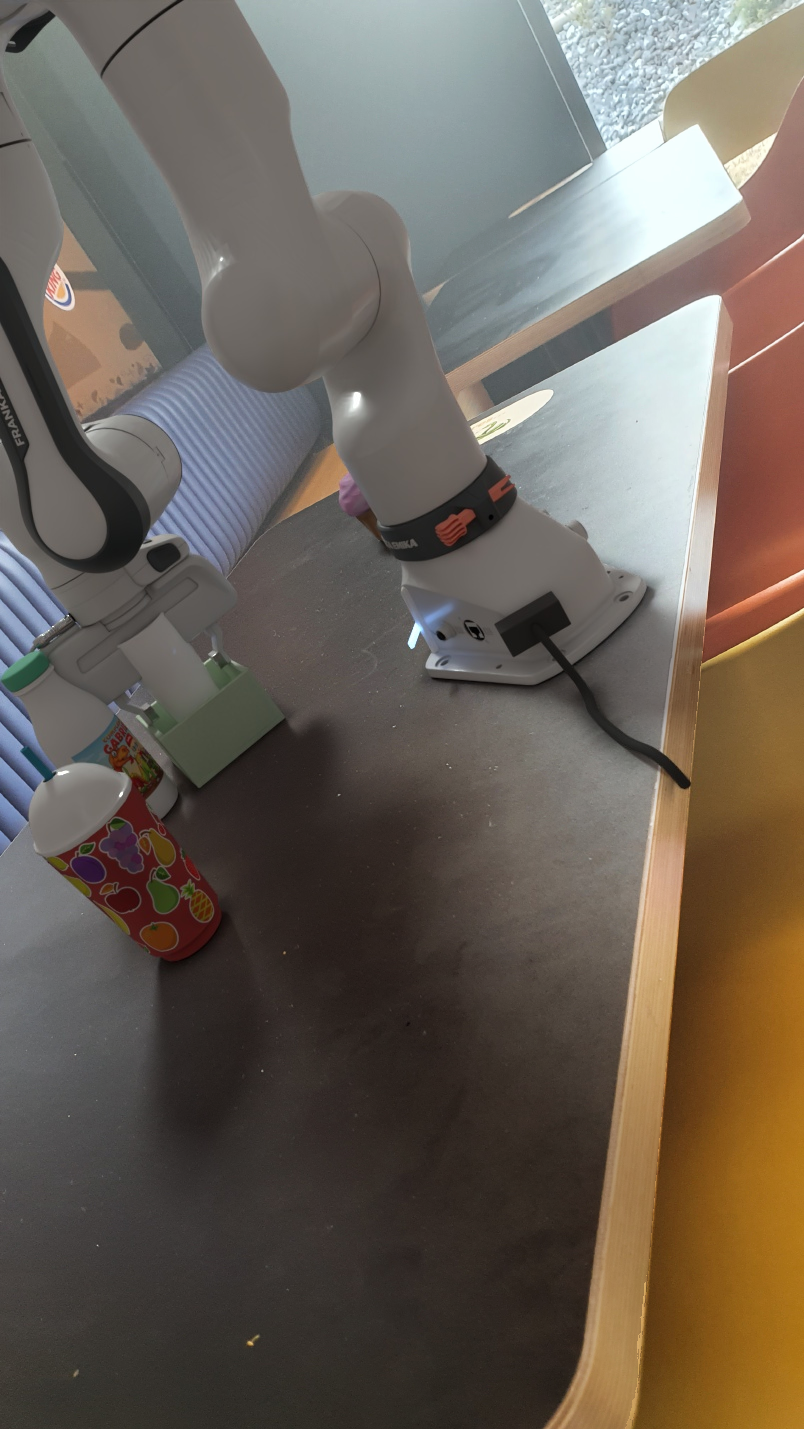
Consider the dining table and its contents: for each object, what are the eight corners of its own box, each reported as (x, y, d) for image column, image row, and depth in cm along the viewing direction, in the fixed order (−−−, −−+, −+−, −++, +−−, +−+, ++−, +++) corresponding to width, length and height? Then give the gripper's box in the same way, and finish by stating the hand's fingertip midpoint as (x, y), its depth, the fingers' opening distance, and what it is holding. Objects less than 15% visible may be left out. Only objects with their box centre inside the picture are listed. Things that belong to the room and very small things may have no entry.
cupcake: (360, 542, 135) (322, 481, 130) (411, 507, 135) (375, 445, 131) (374, 555, 127) (334, 491, 122) (429, 519, 127) (391, 453, 123)
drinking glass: (236, 746, 100) (147, 632, 93) (187, 765, 103) (97, 655, 96) (256, 708, 105) (173, 597, 98) (209, 727, 108) (125, 621, 101)
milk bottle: (116, 852, 96) (-23, 701, 87) (120, 815, 103) (-9, 672, 94) (181, 810, 96) (48, 655, 87) (180, 776, 103) (57, 629, 94)
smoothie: (201, 887, 82) (45, 709, 73) (255, 901, 75) (91, 709, 67) (132, 965, 77) (-42, 787, 69) (183, 986, 71) (-2, 793, 62)
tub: (285, 717, 100) (249, 669, 97) (199, 788, 98) (159, 740, 95) (250, 696, 110) (217, 652, 107) (171, 760, 108) (134, 716, 105)
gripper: (21, 656, 90) (115, 763, 96) (194, 527, 95) (273, 637, 101) (14, 646, 95) (103, 748, 101) (178, 525, 100) (254, 630, 106)
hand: (189, 692), depth 101 cm, fingers open, 8 cm apart
